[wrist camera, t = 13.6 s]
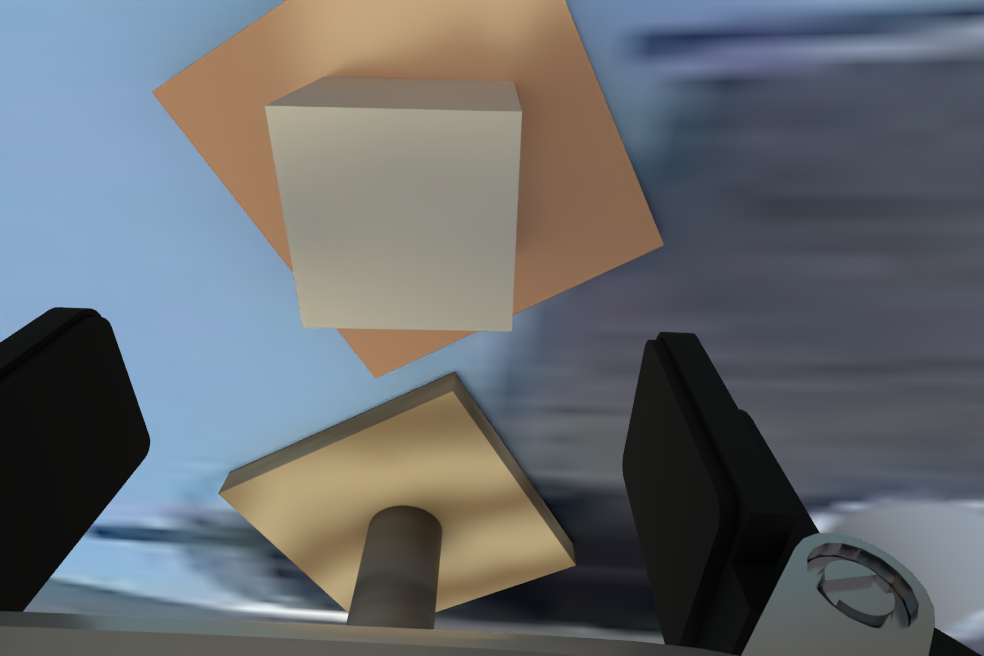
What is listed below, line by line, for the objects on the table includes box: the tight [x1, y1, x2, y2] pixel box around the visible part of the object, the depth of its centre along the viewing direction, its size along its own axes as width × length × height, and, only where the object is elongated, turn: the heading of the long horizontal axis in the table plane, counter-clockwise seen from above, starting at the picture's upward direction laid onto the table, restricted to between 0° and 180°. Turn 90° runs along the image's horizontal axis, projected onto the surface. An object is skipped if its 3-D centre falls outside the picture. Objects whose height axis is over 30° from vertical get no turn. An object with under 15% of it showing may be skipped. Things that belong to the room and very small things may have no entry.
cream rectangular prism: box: [265, 77, 522, 331], centre depth 19 cm, size 7×7×6 cm
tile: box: [152, 0, 664, 378], centre depth 22 cm, size 14×14×1 cm
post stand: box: [218, 372, 576, 630], centre depth 28 cm, size 14×14×10 cm
